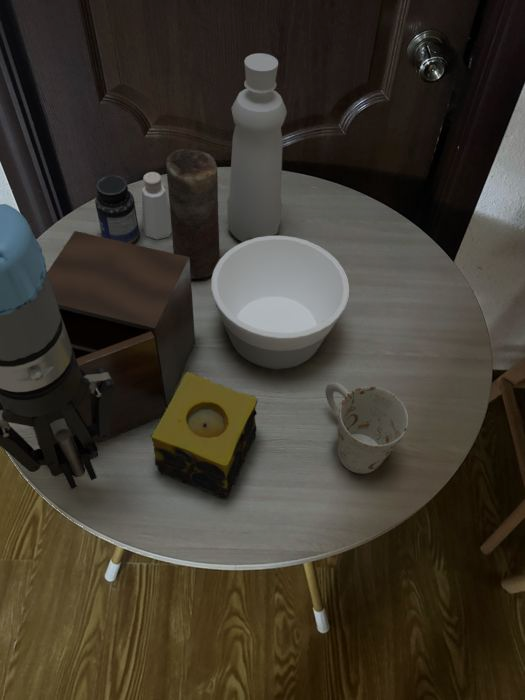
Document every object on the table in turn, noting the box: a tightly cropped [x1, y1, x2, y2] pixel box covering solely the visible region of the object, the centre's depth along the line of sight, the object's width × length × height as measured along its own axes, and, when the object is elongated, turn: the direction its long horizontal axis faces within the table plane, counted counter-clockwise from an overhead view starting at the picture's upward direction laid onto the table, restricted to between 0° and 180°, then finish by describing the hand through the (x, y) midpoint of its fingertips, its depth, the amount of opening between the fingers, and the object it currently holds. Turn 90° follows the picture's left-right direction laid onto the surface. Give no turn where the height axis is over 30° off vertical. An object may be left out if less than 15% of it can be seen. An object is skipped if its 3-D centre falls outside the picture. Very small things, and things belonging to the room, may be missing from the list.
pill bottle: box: [94, 174, 140, 245], centre depth 100 cm, size 6×6×11 cm
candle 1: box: [165, 148, 221, 280], centre depth 93 cm, size 8×7×20 cm
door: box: [49, 331, 167, 479], centre depth 73 cm, size 7×16×17 cm, turn 118°
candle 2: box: [150, 371, 259, 500], centre depth 77 cm, size 10×10×10 cm
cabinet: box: [47, 230, 196, 408], centre depth 82 cm, size 12×16×18 cm
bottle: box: [226, 52, 288, 243], centre depth 95 cm, size 9×9×30 cm
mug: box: [325, 381, 409, 475], centre depth 79 cm, size 8×13×10 cm, turn 36°
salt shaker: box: [141, 171, 172, 241], centre depth 101 cm, size 5×5×11 cm
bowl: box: [210, 235, 350, 370], centre depth 89 cm, size 19×19×11 cm
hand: (80, 474), depth 73 cm, fingers closed on door, 2 cm apart
